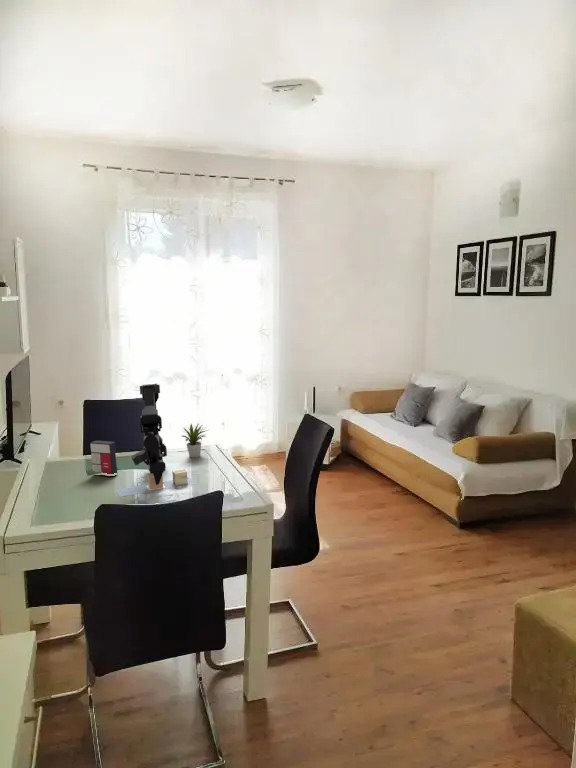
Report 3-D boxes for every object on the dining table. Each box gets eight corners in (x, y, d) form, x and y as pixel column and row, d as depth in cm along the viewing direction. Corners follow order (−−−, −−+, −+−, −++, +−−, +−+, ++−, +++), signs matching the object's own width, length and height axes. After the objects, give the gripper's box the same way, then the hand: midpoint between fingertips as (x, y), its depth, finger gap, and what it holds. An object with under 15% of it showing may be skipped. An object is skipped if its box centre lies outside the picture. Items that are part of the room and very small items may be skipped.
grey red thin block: (92, 475, 258) (88, 442, 255) (98, 472, 262) (95, 440, 259) (112, 477, 254) (109, 444, 251) (118, 474, 258) (115, 441, 255)
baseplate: (116, 491, 236) (116, 489, 235) (189, 479, 247) (189, 477, 247) (119, 498, 226) (119, 496, 226) (195, 486, 237) (195, 484, 237)
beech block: (173, 482, 241) (172, 470, 241) (185, 480, 243) (184, 468, 243) (175, 485, 237) (174, 473, 236) (187, 483, 239) (186, 471, 238)
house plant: (200, 461, 272) (197, 427, 269) (174, 460, 276) (171, 426, 274) (214, 453, 285) (212, 420, 282) (189, 452, 290) (187, 419, 287)
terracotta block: (148, 485, 238) (147, 474, 237) (160, 483, 240) (159, 472, 239) (150, 489, 233) (149, 477, 232) (163, 487, 235) (162, 475, 234)
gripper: (128, 441, 239) (131, 478, 242) (135, 452, 222) (138, 491, 225) (155, 437, 243) (158, 473, 246) (164, 448, 226) (167, 486, 229)
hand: (155, 481), depth 236 cm, fingers open, 9 cm apart
